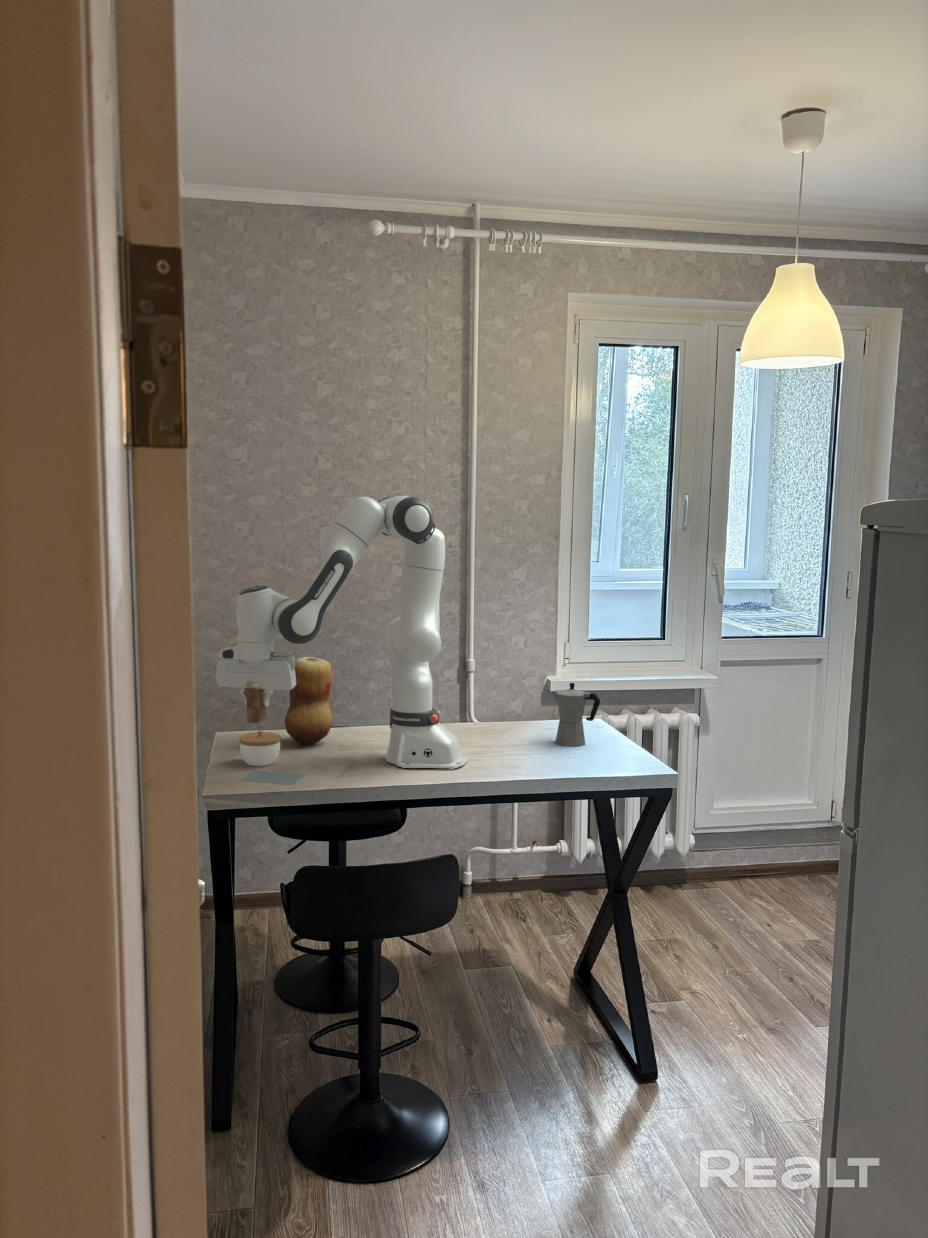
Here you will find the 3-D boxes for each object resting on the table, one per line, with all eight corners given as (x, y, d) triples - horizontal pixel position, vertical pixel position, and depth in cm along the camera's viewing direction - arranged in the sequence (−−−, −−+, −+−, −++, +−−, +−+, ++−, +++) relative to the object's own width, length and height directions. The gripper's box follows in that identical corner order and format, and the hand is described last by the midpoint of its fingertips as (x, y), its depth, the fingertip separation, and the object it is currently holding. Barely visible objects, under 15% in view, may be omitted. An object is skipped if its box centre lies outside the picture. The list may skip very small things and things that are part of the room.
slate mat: (305, 777, 237) (305, 774, 237) (292, 788, 229) (292, 784, 229) (254, 773, 240) (254, 770, 240) (239, 783, 231) (239, 780, 231)
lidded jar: (281, 759, 253) (281, 725, 252) (280, 770, 243) (280, 735, 242) (240, 760, 252) (240, 726, 250) (238, 772, 241) (237, 736, 240)
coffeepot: (543, 743, 275) (545, 683, 272) (556, 736, 283) (557, 677, 281) (592, 750, 267) (594, 689, 265) (604, 743, 276) (606, 683, 273)
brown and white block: (266, 718, 237) (265, 679, 235) (258, 723, 232) (257, 683, 230) (255, 717, 237) (254, 679, 236) (247, 722, 232) (246, 683, 231)
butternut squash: (325, 750, 263) (325, 663, 259) (279, 748, 264) (278, 661, 261) (337, 738, 276) (337, 654, 273) (293, 736, 278) (292, 653, 275)
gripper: (299, 651, 233) (300, 705, 235) (223, 647, 237) (225, 700, 239) (290, 655, 227) (291, 710, 229) (212, 651, 231) (213, 706, 233)
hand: (256, 705), depth 234 cm, fingers closed on brown and white block, 3 cm apart
